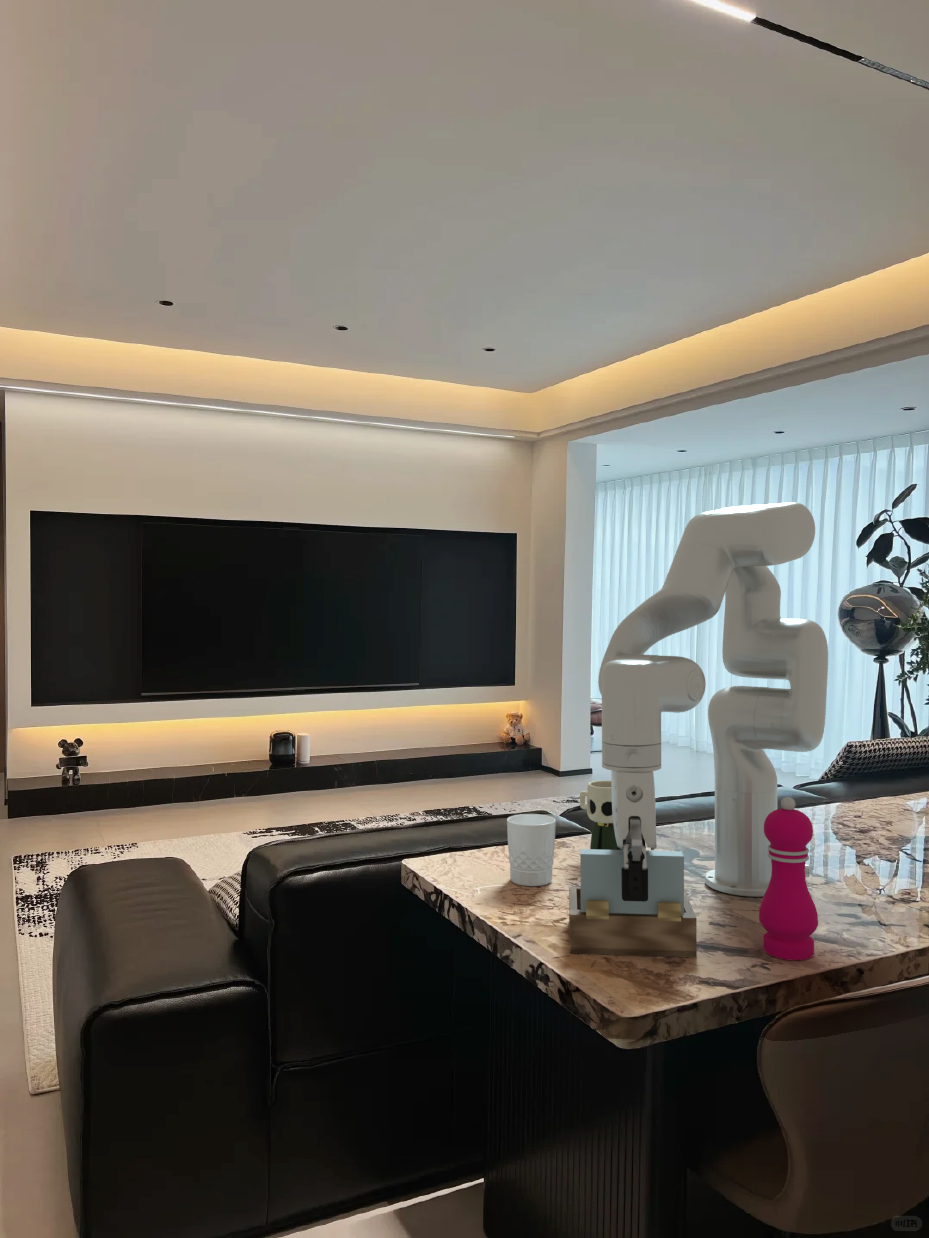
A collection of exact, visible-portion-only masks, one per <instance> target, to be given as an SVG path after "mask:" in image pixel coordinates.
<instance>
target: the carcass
mask: <svg viewBox="0 0 929 1238" xmlns="http://www.w3.org/2000/svg"><path fill="white" fill-rule="evenodd" d="M568 898H569V899H568V907H569V908H568V918H569V919H568V921H569V922H568V923H569V929H568V930H569V954H579V955H580V954H581V955H582V954H585V955H586V954H587V955H610V956H611V955H614V956H615V955H617V956H640V957H641V956H644V957H645V956H646V957H647V956H648V957H679V958H681V957H682V958H697V952H698V951H697V945H698V943H697V941H698V940H697V932H698V931H697V929H698V928H697V915H696V913H695V910H694V908H693V906H692V904H691V902H690V899H689V897H688V895H687V893H686V890H685V889H684V915H681V903H680V902H658V914H627V913H609V901H608V900H586V912H581V886H573V885H572V886H571V885H570V886H568Z"/></svg>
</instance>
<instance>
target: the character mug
mask: <svg viewBox="0 0 929 1238" xmlns="http://www.w3.org/2000/svg"><path fill="white" fill-rule="evenodd" d="M586 787H587V788H586V789H587V790H581V791H580V794H579V806H580V808H581V809H582V810H586V814H587V816H588V819H590V820H591V821H593V822H594V824H593V826H592V829H591V830H592V831H591V837H590V846H589V849H599V850H617V847H618V846H617V842H616V838H615V832H614V825H613V814H612V785H611V780H594V781H589V782H588V783H587V786H586Z"/></svg>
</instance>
